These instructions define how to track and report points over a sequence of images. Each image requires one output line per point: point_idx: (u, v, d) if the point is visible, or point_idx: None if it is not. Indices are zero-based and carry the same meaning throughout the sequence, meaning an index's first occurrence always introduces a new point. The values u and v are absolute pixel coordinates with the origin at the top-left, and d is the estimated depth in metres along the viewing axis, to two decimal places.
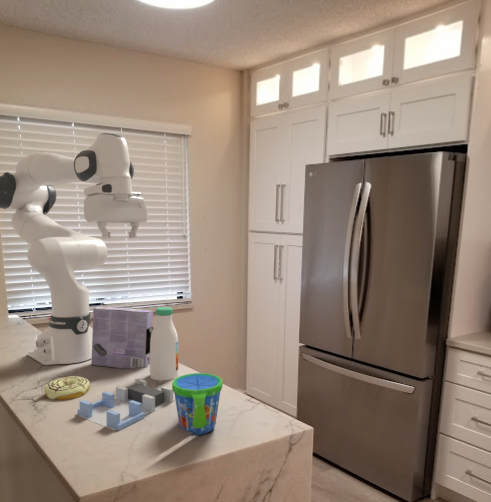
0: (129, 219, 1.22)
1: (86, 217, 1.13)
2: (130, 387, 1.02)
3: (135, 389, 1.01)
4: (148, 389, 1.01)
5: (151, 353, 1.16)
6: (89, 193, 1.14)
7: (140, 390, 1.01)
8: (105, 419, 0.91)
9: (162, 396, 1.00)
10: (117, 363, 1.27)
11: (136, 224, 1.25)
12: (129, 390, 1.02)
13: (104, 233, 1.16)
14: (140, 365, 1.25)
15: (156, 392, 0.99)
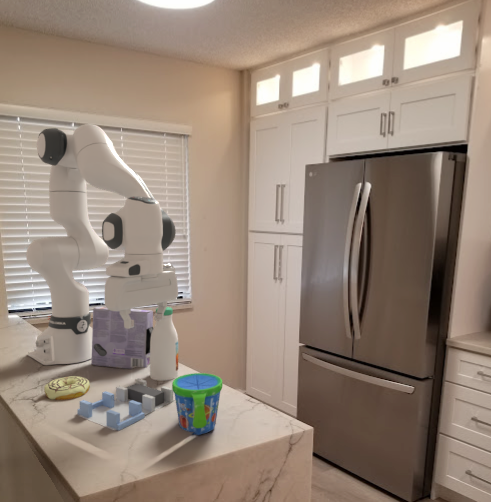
0: (157, 301, 1.01)
1: (107, 305, 0.92)
2: (130, 387, 1.02)
3: (135, 389, 1.01)
4: (148, 389, 1.01)
5: (151, 353, 1.16)
6: (112, 274, 0.93)
7: (140, 390, 1.01)
8: (105, 419, 0.91)
9: (162, 396, 1.00)
10: (117, 363, 1.27)
11: (164, 304, 1.04)
12: (129, 390, 1.02)
13: (127, 322, 0.95)
14: (140, 365, 1.25)
15: (156, 392, 0.99)
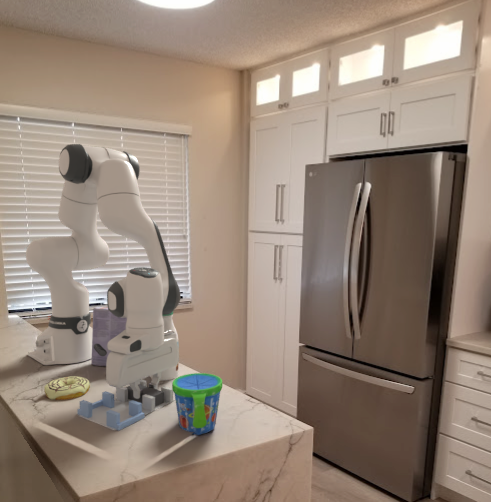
0: (158, 370, 1.02)
1: (108, 381, 0.93)
2: (130, 387, 1.02)
3: None
4: (148, 389, 1.01)
5: None
6: (114, 350, 0.93)
7: None
8: (105, 419, 0.91)
9: (162, 396, 1.00)
10: None
11: (159, 374, 1.03)
12: (129, 390, 1.02)
13: (136, 392, 0.98)
14: None
15: (156, 392, 0.99)
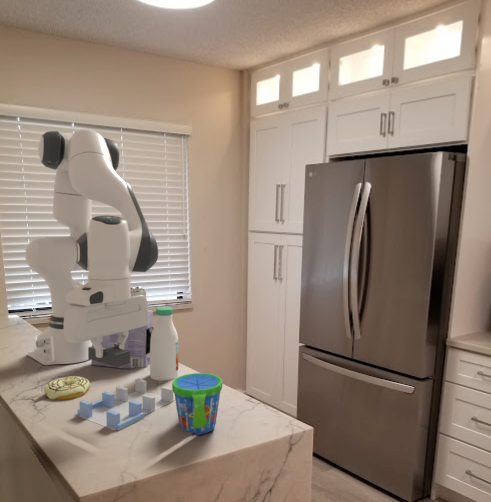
0: (124, 329, 0.93)
1: (66, 336, 0.84)
2: (93, 347, 0.94)
3: None
4: (113, 349, 0.92)
5: (151, 353, 1.16)
6: (72, 303, 0.85)
7: None
8: (105, 419, 0.91)
9: (127, 356, 0.91)
10: None
11: (125, 333, 0.94)
12: (92, 350, 0.93)
13: (98, 351, 0.89)
14: (140, 365, 1.25)
15: (121, 351, 0.91)
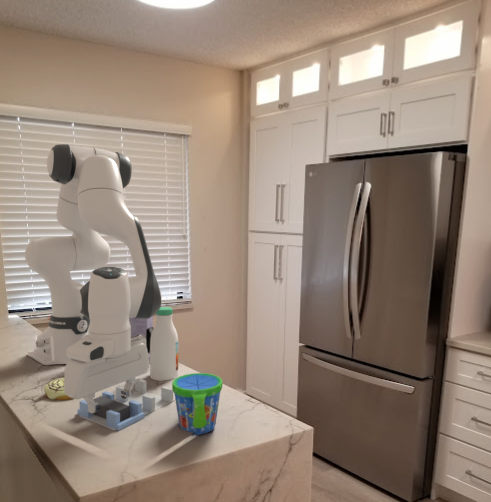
0: (124, 379, 0.94)
1: (66, 392, 0.85)
2: (94, 400, 0.94)
3: (99, 403, 0.93)
4: (113, 403, 0.93)
5: (151, 353, 1.16)
6: (73, 358, 0.85)
7: (104, 404, 0.93)
8: (105, 419, 0.91)
9: (127, 411, 0.92)
10: None
11: (132, 380, 0.96)
12: None
13: (91, 406, 0.88)
14: None
15: (121, 407, 0.91)
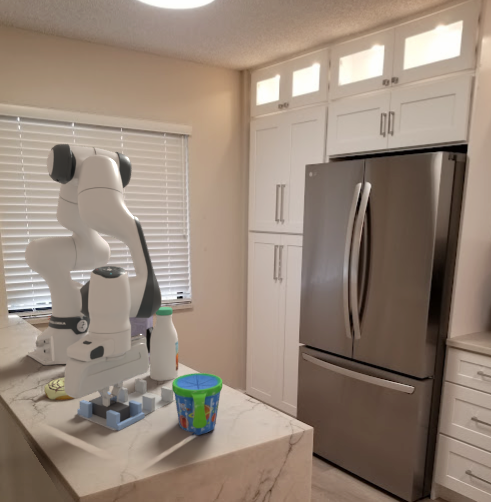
0: (124, 378, 0.94)
1: (66, 391, 0.84)
2: (94, 400, 0.94)
3: (99, 403, 0.93)
4: None
5: (151, 353, 1.16)
6: (73, 357, 0.85)
7: None
8: (105, 419, 0.91)
9: (127, 411, 0.92)
10: None
11: (119, 385, 0.93)
12: (92, 404, 0.94)
13: (105, 400, 0.91)
14: None
15: (121, 407, 0.91)
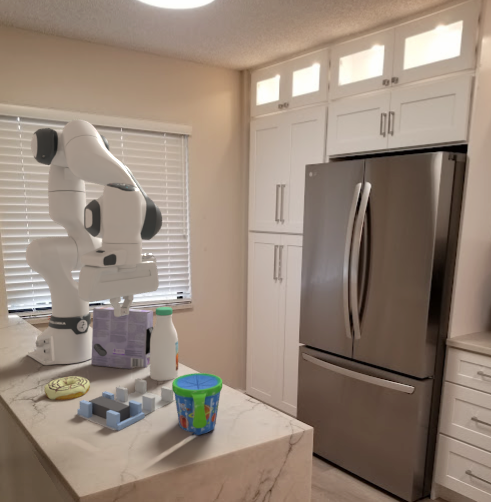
0: (135, 292, 0.97)
1: (80, 295, 0.89)
2: (94, 400, 0.94)
3: (99, 403, 0.93)
4: (113, 403, 0.93)
5: (151, 353, 1.16)
6: (87, 264, 0.89)
7: (104, 404, 0.93)
8: (105, 419, 0.91)
9: (127, 411, 0.92)
10: (117, 363, 1.27)
11: (130, 298, 0.97)
12: (92, 404, 0.94)
13: (117, 310, 0.95)
14: (140, 365, 1.25)
15: (121, 407, 0.91)
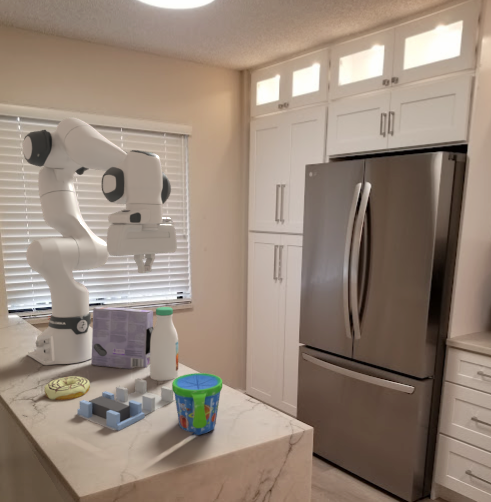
0: (156, 251, 1.06)
1: (109, 250, 0.97)
2: (94, 400, 0.94)
3: (99, 403, 0.93)
4: (113, 403, 0.93)
5: (151, 353, 1.16)
6: (114, 222, 0.98)
7: (104, 404, 0.93)
8: (105, 419, 0.91)
9: (127, 411, 0.92)
10: (117, 363, 1.27)
11: (152, 256, 1.06)
12: (92, 404, 0.94)
13: (140, 267, 1.04)
14: (140, 365, 1.25)
15: (121, 407, 0.91)
